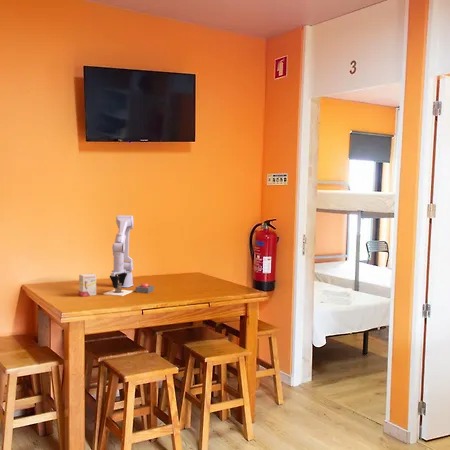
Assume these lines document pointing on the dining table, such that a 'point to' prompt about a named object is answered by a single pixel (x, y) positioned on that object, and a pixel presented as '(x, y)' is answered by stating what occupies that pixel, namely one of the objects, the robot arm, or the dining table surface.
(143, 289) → the button housing
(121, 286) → the grey rounded cylinder
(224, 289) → the dining table surface
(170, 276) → the dining table surface
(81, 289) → the ink box
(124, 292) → the paper sheet
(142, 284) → the button
